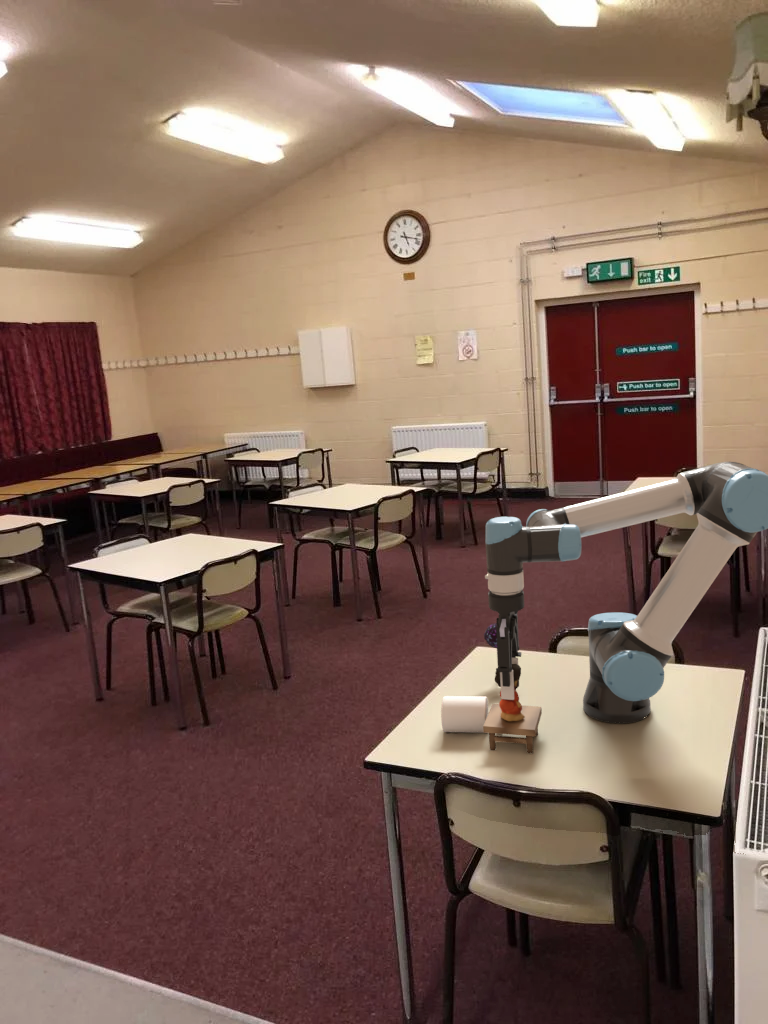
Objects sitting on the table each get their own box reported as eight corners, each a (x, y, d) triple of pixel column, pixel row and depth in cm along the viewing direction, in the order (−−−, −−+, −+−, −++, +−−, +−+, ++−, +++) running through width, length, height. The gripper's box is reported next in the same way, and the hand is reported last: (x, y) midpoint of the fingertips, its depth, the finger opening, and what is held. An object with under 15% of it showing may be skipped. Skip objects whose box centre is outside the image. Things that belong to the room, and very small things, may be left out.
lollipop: (486, 672, 212) (483, 619, 209) (512, 672, 211) (509, 618, 208) (486, 683, 205) (483, 628, 202) (513, 683, 204) (510, 628, 201)
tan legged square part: (542, 731, 178) (541, 706, 177) (536, 756, 168) (534, 729, 167) (493, 727, 181) (492, 703, 180) (484, 751, 171) (483, 726, 170)
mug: (486, 739, 177) (484, 706, 175) (442, 738, 179) (440, 705, 177) (490, 714, 188) (488, 683, 187) (448, 713, 190) (446, 683, 189)
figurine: (521, 724, 169) (517, 670, 167) (496, 722, 171) (492, 669, 169) (528, 712, 174) (524, 660, 173) (503, 710, 177) (499, 659, 175)
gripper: (496, 577, 178) (500, 673, 182) (479, 603, 160) (484, 710, 164) (529, 577, 175) (533, 675, 180) (516, 605, 158) (521, 712, 162)
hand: (510, 691), depth 172 cm, fingers closed on figurine, 6 cm apart
